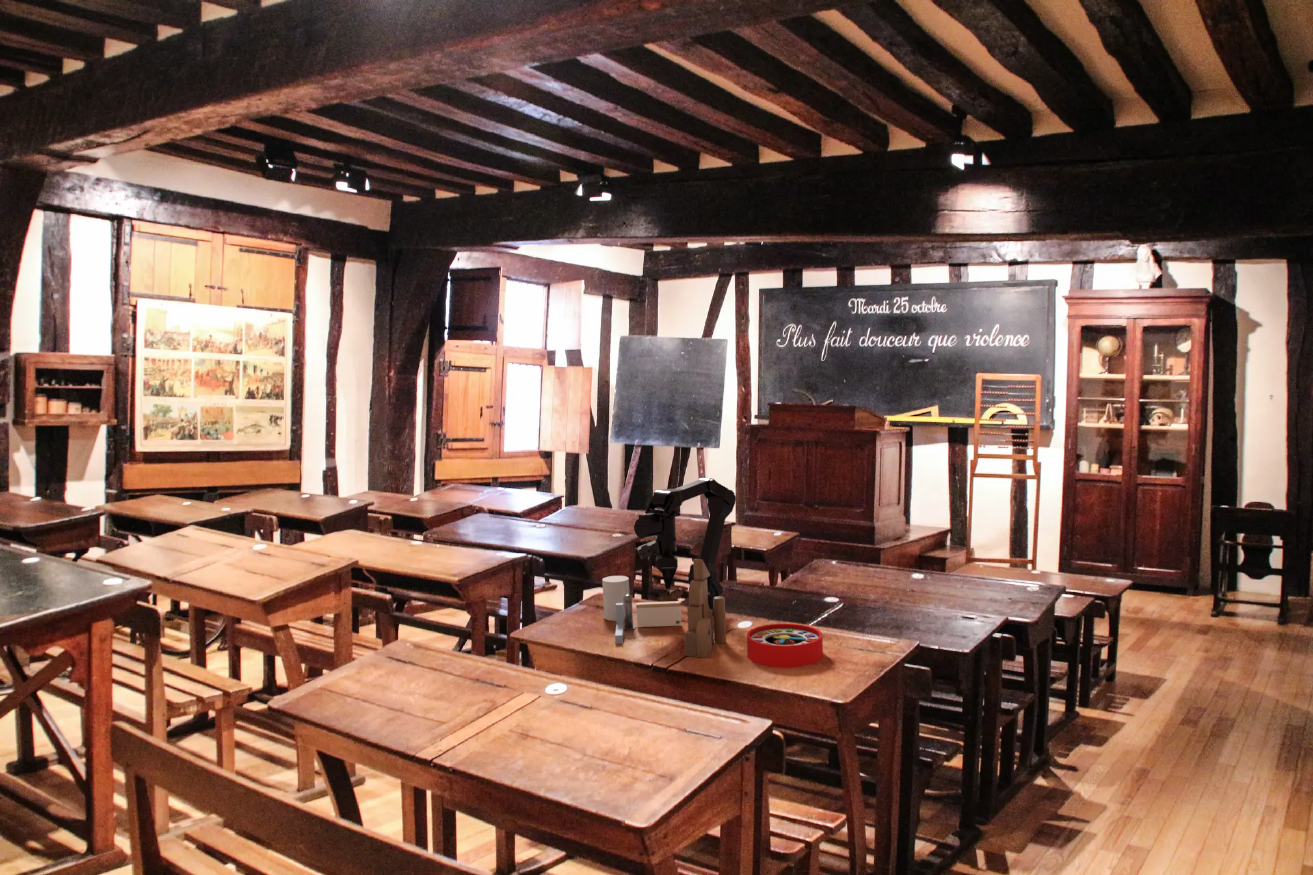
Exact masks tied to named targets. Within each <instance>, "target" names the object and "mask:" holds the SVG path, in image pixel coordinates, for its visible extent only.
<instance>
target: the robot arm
mask: <svg viewBox="0 0 1313 875" xmlns="http://www.w3.org/2000/svg"><path fill="white" fill-rule="evenodd" d="M701 495H702V496H703V497H704V498H705V499H706V500H707V503H706V504H707V510H708V514H709V516H708V517H709V518H708V521H707V525H706V529H705V534H704V538H703V542H702V546H701V550H700V554H699V558H698V559H702V560H703V562H704V564H705V566H706V568H707V570H708V571H709V573H710V576H709V577H707V588H708V605H709V608H710V609H711V610H712V611H713V617H714V607H713V598H714V597H717V596H722V595H723V591H724V587H723V585H722V584H720V582H719V581H718V571H717V567H716V560H717V556H718V553H719V552H718V551H719V547H720V543H721V540H722V535H723V530H724V527H725V522H726V519H727V518H728V517H729V516H730V515H731V514H732V512H733V510H734V507H735V504H736V502H737V496H736V494H735V492H734V490H732V489H729V488H728V487H726V486H724V485H723V484H721V483H719V482H717V480H715V479H714V478H712V477H710V478H709V477H700V478H698V479H697V480H695V481H692V482H689V483H686V484H683V485H681V486H679V487H676V488H664V489H657V490H655V491H653V495H652V497H651V499H650V501H649V503H648V505H647V507H646V509H645V511H644V514H643V513H639V515H638V519H636V520H635V522H634V525H633V530H634V533H635V535H636V536H637V537H638V538H639V539H646V538H649V537H650V538H651V537H655V540H653V541H649V542H647V543H644V544H642V545H640V546H638V547H637V553H638V555H639V557H640V559H641V560H645V559H646V558H648V557H651V556H653V555H655V556H656V558H655V566H656V569H657V570H658V571H659V572H661V573H662V579H663V583H664V588H665V589H666V590H669V589H670V588H671V585H672V583H673V580H674V578H675V575H676V572H677V569H678V567H679V566H678V565H679V564H678V562H679V561H678V557H677V556H678V552H677V551H678V548H677V537H676V536H677V535H676V534H677V533H676V532H677V531H676V517H680V516H681V513H680V512H679V511H677V510H678V508H680V507H681V506H682V504H683V503H684V502H686V501H688V500H691V499H693V498H694V499H695V498H696V497H698V496H701ZM687 577H688V579H687V583H688V584H689V586H690V582H691V581H692V580H694V565H693V563H691V564H690V566H689V571H688V575H687Z"/></svg>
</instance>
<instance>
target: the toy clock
mask: <svg viewBox="0 0 1313 875" xmlns="http://www.w3.org/2000/svg"><path fill="white" fill-rule="evenodd" d="M823 642H824V641H823V633H822V631H820V630H819V629H818V628H815V627H812V626H810V625H804V624H798V623H771V624H764V625H759V626H756V627H754V628H751V629H750V630H748V631H747V633H746V657H747V659H748V660H749V661H751V662H752V663H755V664H758V665H760V666H764V667H771V668H786V669H787V668H799V667H806V666H811V665H813V663H814V664H816V663H817V661H818V662H820V661H821V660H822V659H823V657H824V648H823V645H824V644H823ZM821 658H822V659H821ZM820 659H821V660H820ZM819 660H820V661H819ZM815 662H816V663H815Z"/></svg>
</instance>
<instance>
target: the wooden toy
mask: <svg viewBox="0 0 1313 875" xmlns="http://www.w3.org/2000/svg"><path fill="white" fill-rule="evenodd" d="M692 562H693V563H692V564H693V565H694V580H692V581H691V582H690V585H689V587H688V600H689V601H688V603H689V604H688V606H687V607H686V608H687V631H685V632H684V652H685V656H686V657H692V658H693V657H694V658H696V657H697V658H699V657H700V658H709V657H711V655H712V654H713V645H712V644H713V643H715V644H719V645H722V644H723V645H724V644H725V643H727V628H726V625H727V624H726V623H727V622H726V600H725V596H722V595H719V596H717V597H714V598H713V607H714V616H713V611H712V610H711V609H710V608H709V605H708V588H707V577H709V576H710V573H709V571H708V570H707V568H706V566H705V564H704V562H703V560H702V559H699V558H694V559H693V561H692Z"/></svg>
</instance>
